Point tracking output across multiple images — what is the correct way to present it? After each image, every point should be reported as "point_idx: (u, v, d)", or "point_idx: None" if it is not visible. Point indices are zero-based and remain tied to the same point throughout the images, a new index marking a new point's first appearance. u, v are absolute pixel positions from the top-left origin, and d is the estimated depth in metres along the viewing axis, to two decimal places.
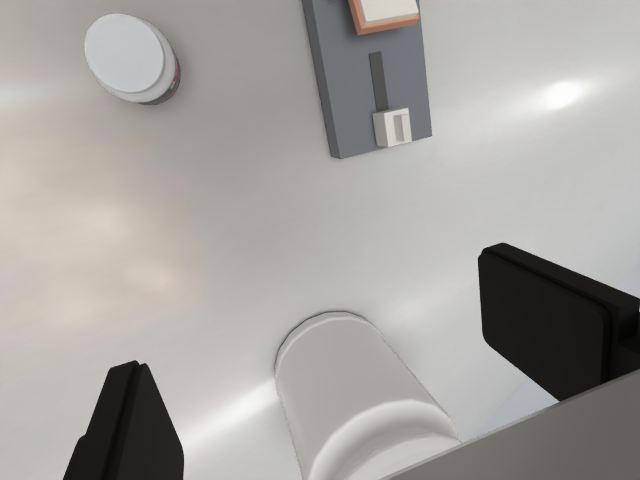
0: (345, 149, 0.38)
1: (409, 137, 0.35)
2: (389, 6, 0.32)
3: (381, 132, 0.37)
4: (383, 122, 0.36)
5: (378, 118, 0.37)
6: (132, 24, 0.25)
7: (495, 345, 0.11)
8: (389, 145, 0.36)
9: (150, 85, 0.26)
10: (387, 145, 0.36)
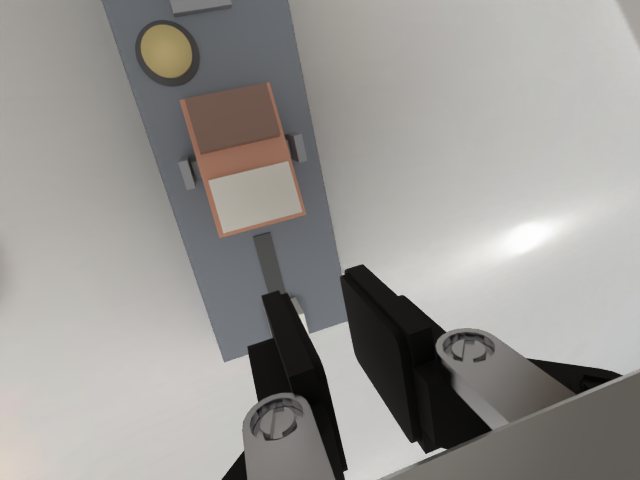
0: (230, 350, 0.29)
1: None
2: (258, 208, 0.22)
3: (272, 337, 0.28)
4: None
5: None
6: None
7: (360, 362, 0.12)
8: None
9: None
10: None
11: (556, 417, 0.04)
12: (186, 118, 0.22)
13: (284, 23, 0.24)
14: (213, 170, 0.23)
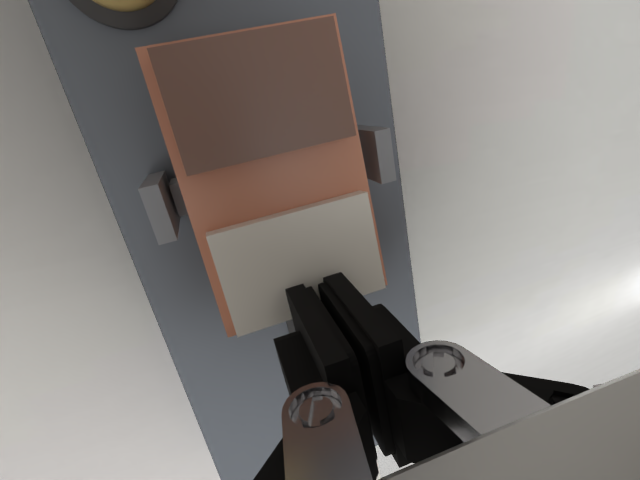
0: None
1: None
2: (306, 286, 0.11)
3: None
4: None
5: None
6: None
7: None
8: None
9: None
10: None
11: (556, 417, 0.04)
12: (153, 92, 0.10)
13: None
14: (215, 208, 0.11)
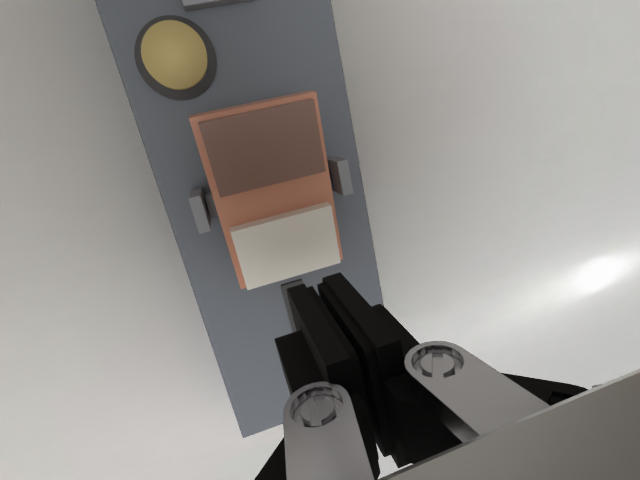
0: (250, 423, 0.23)
1: None
2: (290, 261, 0.18)
3: None
4: None
5: None
6: None
7: None
8: None
9: None
10: None
11: (556, 417, 0.04)
12: (199, 144, 0.16)
13: (324, 19, 0.19)
14: (235, 213, 0.17)
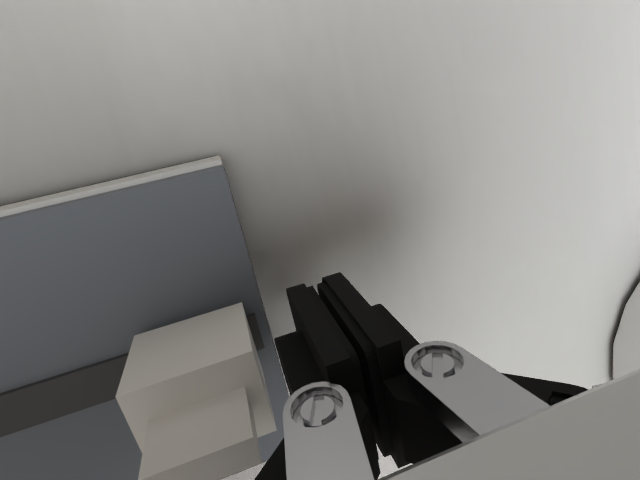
0: (277, 440, 0.14)
1: (243, 448, 0.08)
2: None
3: None
4: None
5: None
6: None
7: None
8: (271, 428, 0.10)
9: None
10: None
11: (556, 417, 0.04)
12: None
13: None
14: None
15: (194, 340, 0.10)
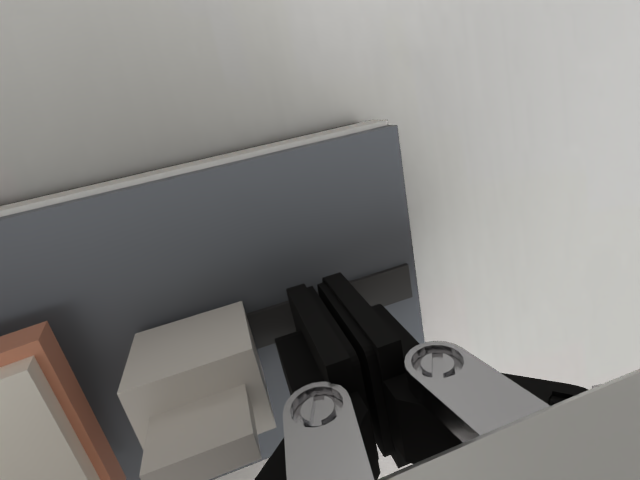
0: None
1: (243, 444, 0.08)
2: (31, 474, 0.09)
3: None
4: None
5: None
6: None
7: None
8: (270, 425, 0.10)
9: None
10: None
11: (556, 417, 0.04)
12: None
13: None
14: None
15: (194, 338, 0.10)
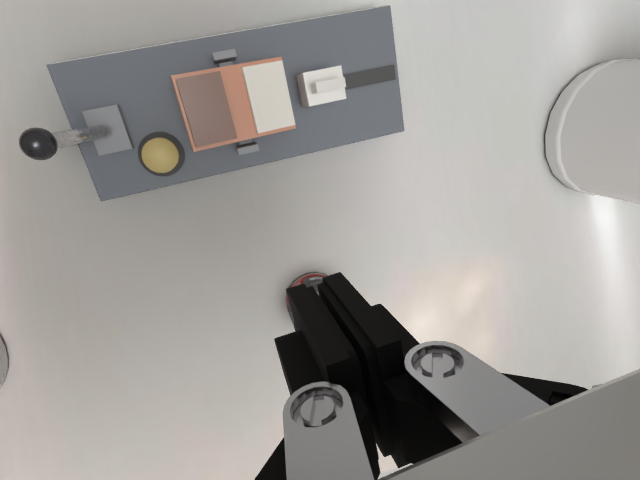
0: (395, 125, 0.35)
1: (341, 79, 0.29)
2: (278, 96, 0.29)
3: None
4: (318, 104, 0.30)
5: None
6: None
7: None
8: (344, 97, 0.31)
9: None
10: None
11: (556, 417, 0.04)
12: (208, 147, 0.29)
13: (122, 59, 0.29)
14: (247, 129, 0.30)
15: None
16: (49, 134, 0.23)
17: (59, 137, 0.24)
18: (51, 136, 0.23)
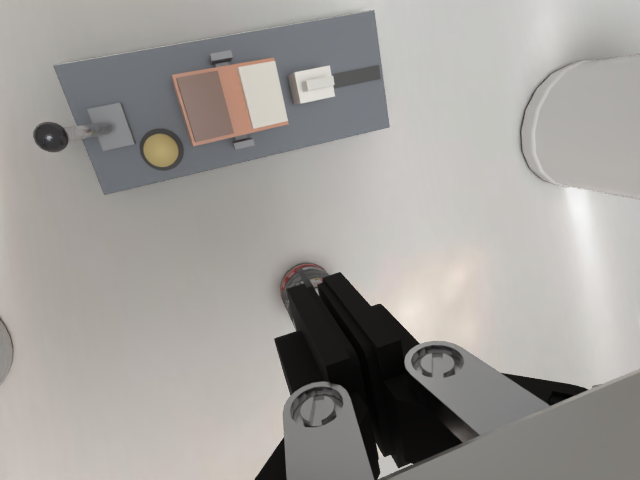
0: (381, 121, 0.38)
1: (330, 78, 0.31)
2: (272, 94, 0.32)
3: None
4: (309, 101, 0.33)
5: None
6: None
7: None
8: (333, 95, 0.33)
9: None
10: (333, 96, 0.33)
11: (556, 417, 0.04)
12: (206, 142, 0.31)
13: (124, 60, 0.31)
14: (243, 125, 0.32)
15: None
16: (61, 128, 0.24)
17: (69, 131, 0.26)
18: (63, 130, 0.24)
